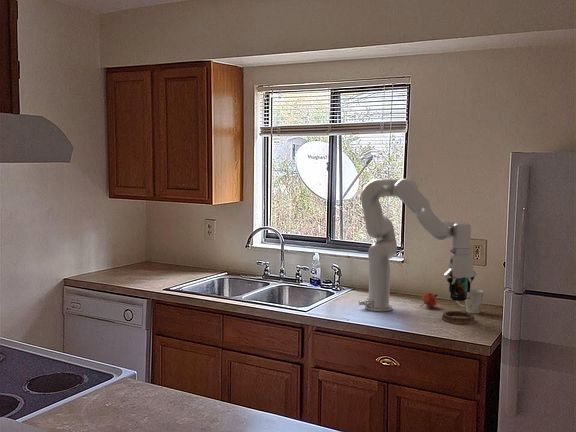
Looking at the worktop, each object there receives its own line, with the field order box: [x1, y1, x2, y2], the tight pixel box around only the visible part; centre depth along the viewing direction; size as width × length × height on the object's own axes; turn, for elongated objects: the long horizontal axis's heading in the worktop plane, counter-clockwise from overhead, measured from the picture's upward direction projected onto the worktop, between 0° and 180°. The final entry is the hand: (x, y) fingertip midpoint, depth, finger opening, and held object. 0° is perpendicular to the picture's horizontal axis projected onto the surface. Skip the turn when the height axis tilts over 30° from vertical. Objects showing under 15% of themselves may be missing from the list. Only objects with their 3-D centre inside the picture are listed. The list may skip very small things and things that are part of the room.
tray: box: [441, 310, 476, 325], centre depth 277 cm, size 14×14×2 cm
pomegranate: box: [419, 292, 439, 309], centre depth 299 cm, size 7×7×10 cm
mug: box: [455, 288, 484, 315], centre depth 292 cm, size 8×13×10 cm, turn 58°
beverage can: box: [449, 277, 468, 302], centre depth 276 cm, size 7×7×12 cm
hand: (459, 291), depth 276 cm, fingers closed on beverage can, 7 cm apart
